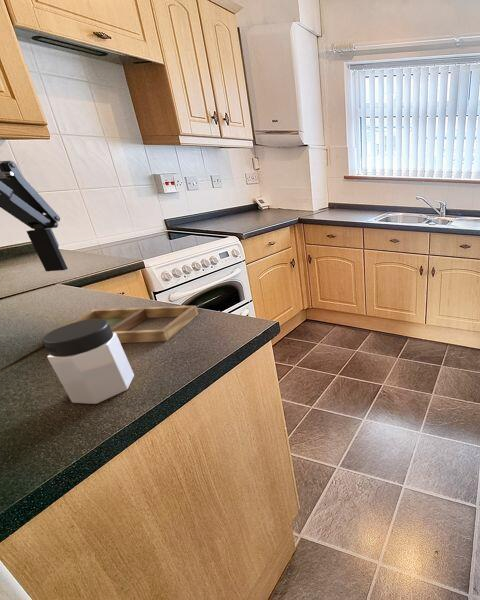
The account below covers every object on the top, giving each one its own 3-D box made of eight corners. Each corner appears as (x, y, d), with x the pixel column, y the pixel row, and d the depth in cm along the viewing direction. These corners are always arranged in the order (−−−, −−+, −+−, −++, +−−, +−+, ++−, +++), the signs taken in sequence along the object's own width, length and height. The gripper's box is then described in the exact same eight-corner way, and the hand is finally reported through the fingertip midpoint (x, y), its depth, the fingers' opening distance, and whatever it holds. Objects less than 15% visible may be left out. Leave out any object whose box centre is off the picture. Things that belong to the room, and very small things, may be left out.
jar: (86, 381, 62) (56, 323, 57) (138, 369, 65) (115, 313, 60) (64, 412, 54) (28, 349, 49) (125, 397, 57) (96, 336, 52)
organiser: (48, 346, 74) (43, 336, 73) (97, 318, 87) (93, 309, 86) (166, 341, 74) (163, 331, 73) (198, 314, 87) (196, 305, 86)
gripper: (-189, 103, 29) (-46, 322, 37) (51, 125, 51) (105, 258, 60) (-293, 106, 28) (-123, 328, 37) (-4, 126, 51) (59, 261, 59)
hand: (19, 285), depth 48 cm, fingers open, 13 cm apart
